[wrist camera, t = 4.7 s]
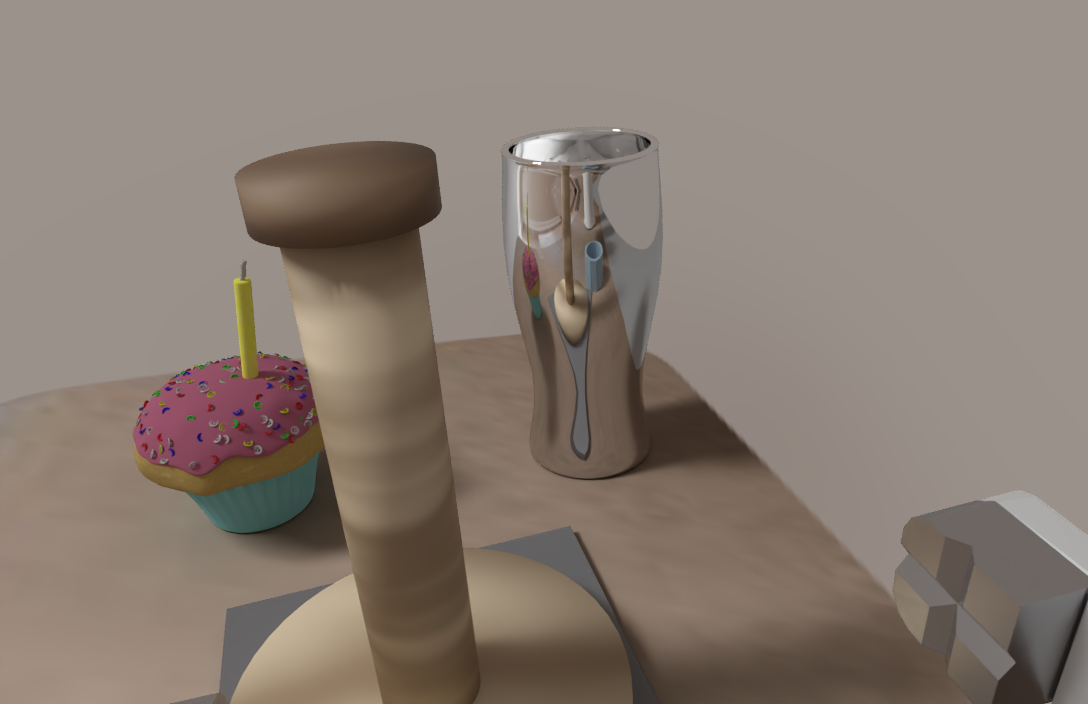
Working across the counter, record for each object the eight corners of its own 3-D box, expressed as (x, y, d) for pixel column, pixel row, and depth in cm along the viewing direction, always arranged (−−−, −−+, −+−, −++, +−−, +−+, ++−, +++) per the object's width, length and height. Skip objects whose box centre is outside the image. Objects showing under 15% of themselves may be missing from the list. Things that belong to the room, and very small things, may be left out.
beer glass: (643, 401, 43) (644, 120, 36) (675, 477, 37) (683, 156, 30) (516, 414, 42) (492, 132, 35) (526, 493, 36) (499, 171, 29)
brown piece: (704, 831, 22) (743, 201, 13) (211, 1002, 19) (-128, 332, 11) (562, 536, 33) (536, 91, 25) (240, 614, 30) (85, 140, 22)
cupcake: (371, 447, 40) (328, 223, 35) (326, 564, 33) (261, 301, 27) (208, 453, 41) (139, 232, 35) (126, 569, 33) (22, 311, 28)
